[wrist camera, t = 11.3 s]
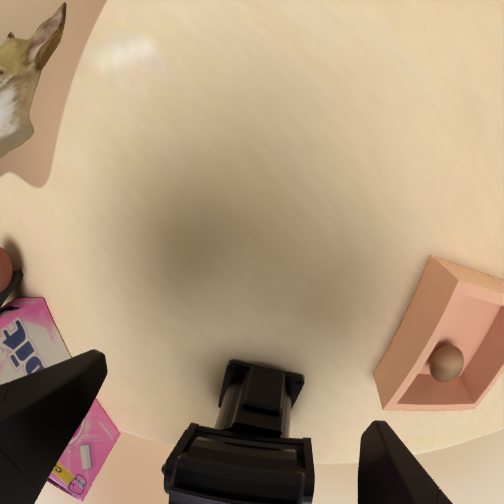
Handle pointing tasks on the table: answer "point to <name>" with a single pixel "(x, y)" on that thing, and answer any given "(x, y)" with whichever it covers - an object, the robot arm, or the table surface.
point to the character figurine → (7, 276)
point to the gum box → (42, 356)
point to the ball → (446, 363)
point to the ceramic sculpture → (24, 78)
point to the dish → (445, 341)
